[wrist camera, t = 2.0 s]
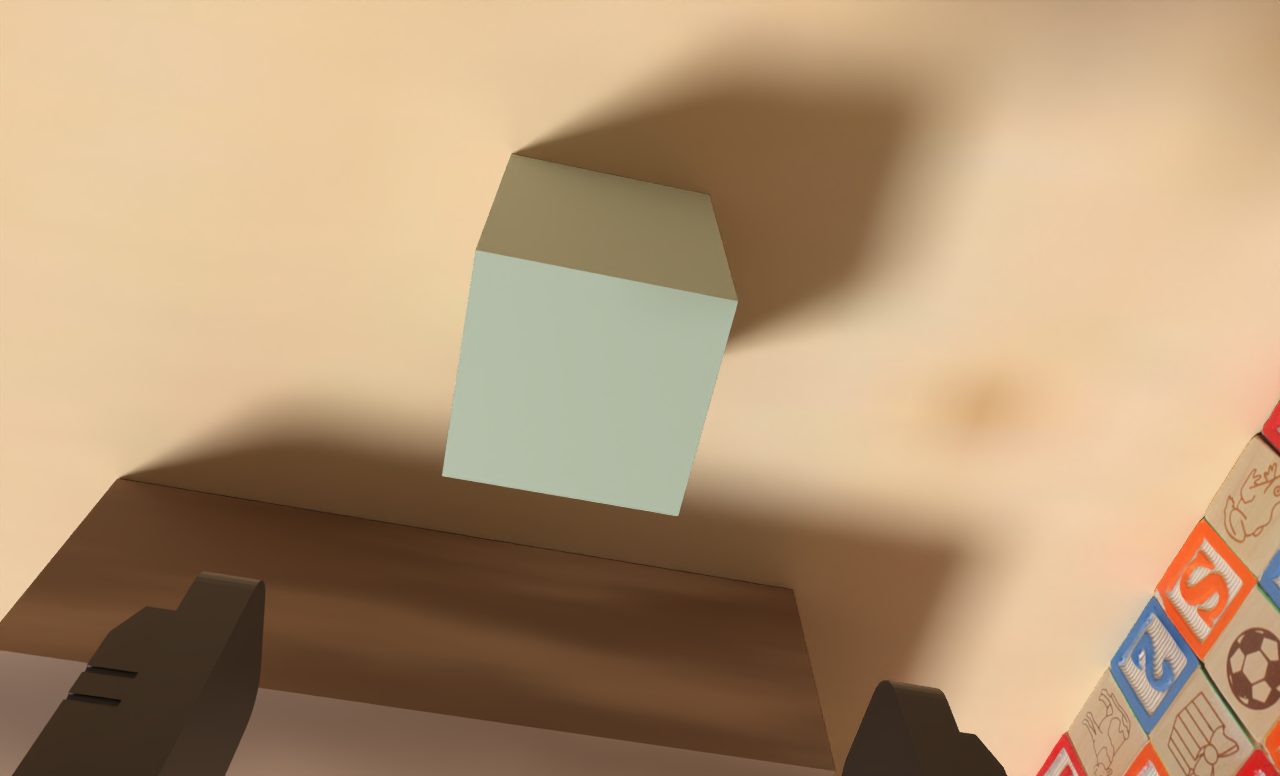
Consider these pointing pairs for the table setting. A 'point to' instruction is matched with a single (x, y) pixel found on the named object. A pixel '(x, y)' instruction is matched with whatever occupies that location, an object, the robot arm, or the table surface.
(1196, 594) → the stack of blocks
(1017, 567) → the table surface
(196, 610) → the robot arm
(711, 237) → the sage block
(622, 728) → the block
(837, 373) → the table surface
